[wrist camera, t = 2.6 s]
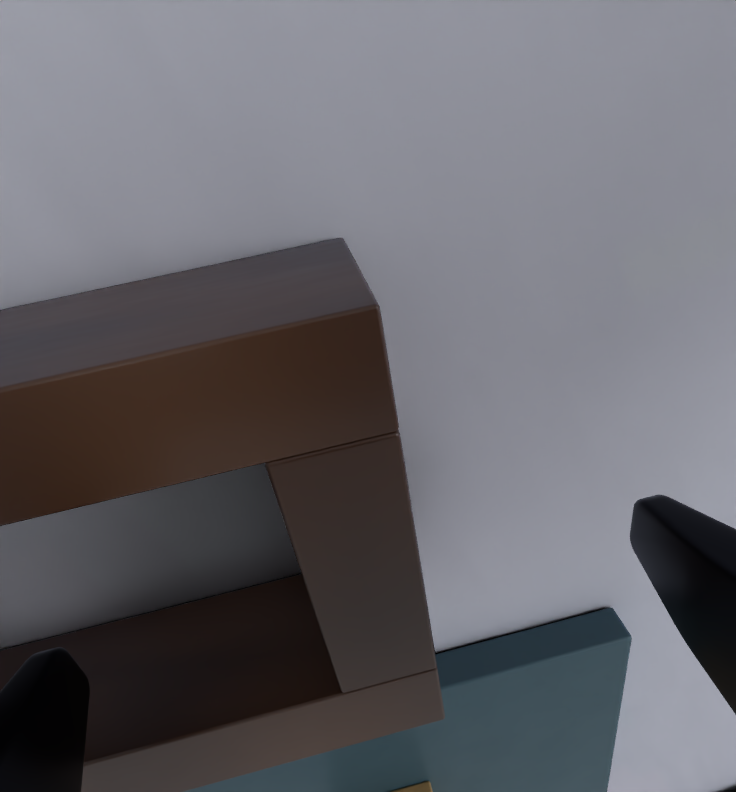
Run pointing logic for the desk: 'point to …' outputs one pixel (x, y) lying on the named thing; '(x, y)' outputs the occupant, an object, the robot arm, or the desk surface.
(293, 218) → the desk surface
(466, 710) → the holder
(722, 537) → the robot arm
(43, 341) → the frame
